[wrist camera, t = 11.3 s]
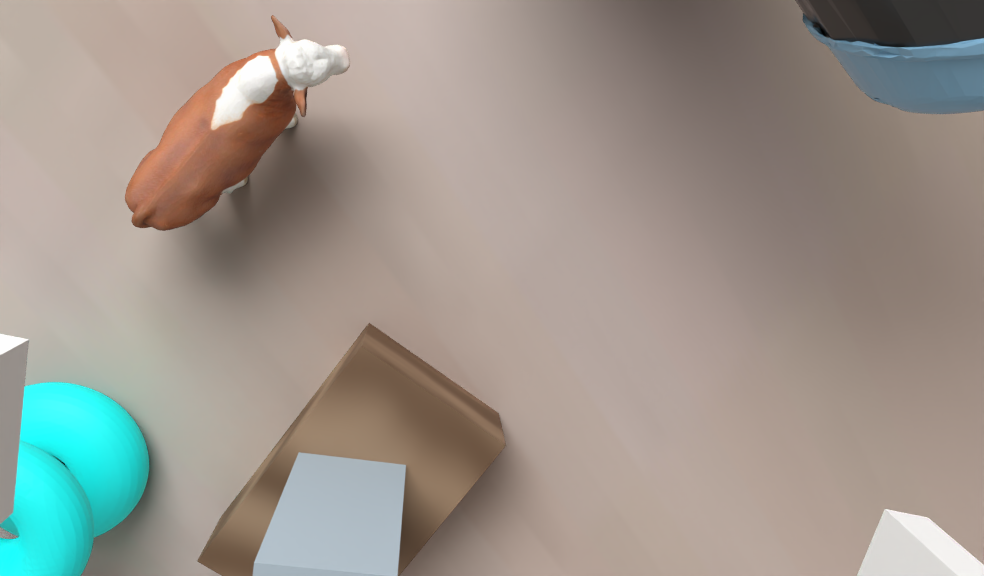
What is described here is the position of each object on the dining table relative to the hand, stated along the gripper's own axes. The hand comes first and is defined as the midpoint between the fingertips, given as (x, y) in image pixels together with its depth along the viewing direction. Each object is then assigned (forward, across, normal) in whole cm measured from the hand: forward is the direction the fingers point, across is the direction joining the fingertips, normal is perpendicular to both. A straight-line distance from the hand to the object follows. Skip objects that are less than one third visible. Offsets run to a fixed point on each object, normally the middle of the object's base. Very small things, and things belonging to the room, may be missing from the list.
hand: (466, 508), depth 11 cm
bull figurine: (+31, -12, +2) cm, 34 cm away
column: (+26, -2, -17) cm, 32 cm away
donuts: (+31, -20, -20) cm, 41 cm away
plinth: (+31, -2, -17) cm, 36 cm away
